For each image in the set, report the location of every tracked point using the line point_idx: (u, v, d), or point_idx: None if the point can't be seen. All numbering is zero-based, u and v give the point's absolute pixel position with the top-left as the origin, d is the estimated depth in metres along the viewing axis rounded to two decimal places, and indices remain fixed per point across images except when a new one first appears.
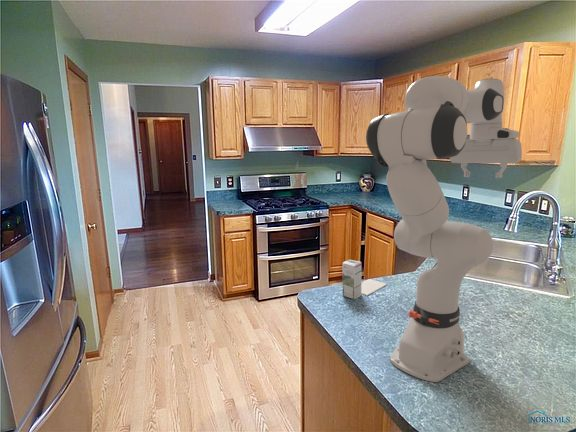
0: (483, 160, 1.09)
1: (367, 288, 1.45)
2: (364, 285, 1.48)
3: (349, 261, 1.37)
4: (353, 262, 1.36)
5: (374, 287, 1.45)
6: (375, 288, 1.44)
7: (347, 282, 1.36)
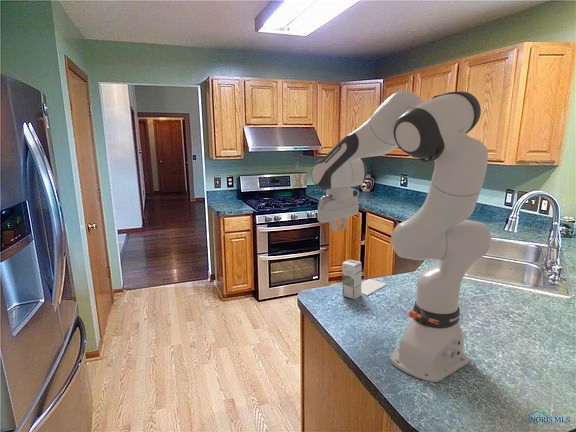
0: (343, 215, 1.26)
1: (367, 288, 1.45)
2: (364, 285, 1.48)
3: (349, 261, 1.37)
4: (353, 262, 1.36)
5: (374, 287, 1.45)
6: (375, 288, 1.44)
7: (347, 282, 1.36)
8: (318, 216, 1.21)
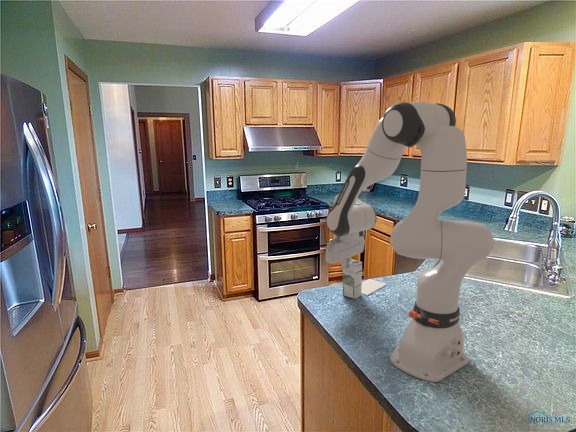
0: (350, 255, 1.32)
1: (367, 288, 1.45)
2: (364, 285, 1.48)
3: None
4: (354, 261, 1.36)
5: (374, 287, 1.45)
6: (375, 288, 1.44)
7: (348, 281, 1.36)
8: (326, 257, 1.27)
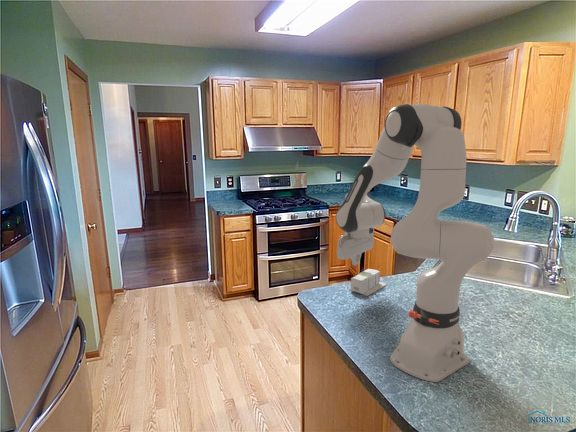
0: (360, 251, 1.36)
1: None
2: None
3: None
4: None
5: (374, 287, 1.45)
6: (375, 288, 1.44)
7: (364, 274, 1.45)
8: (337, 253, 1.31)
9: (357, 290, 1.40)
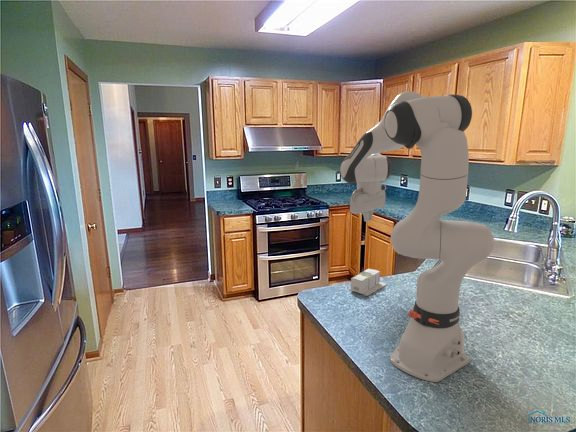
0: (372, 208, 1.39)
1: None
2: None
3: None
4: None
5: (374, 287, 1.45)
6: (375, 288, 1.44)
7: (365, 274, 1.45)
8: (351, 208, 1.33)
9: (357, 290, 1.40)
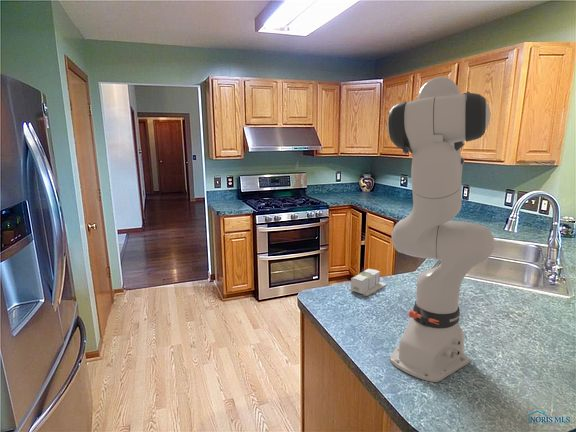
0: None
1: None
2: None
3: None
4: None
5: (374, 287, 1.45)
6: (375, 288, 1.44)
7: (365, 274, 1.45)
8: None
9: (357, 290, 1.40)
